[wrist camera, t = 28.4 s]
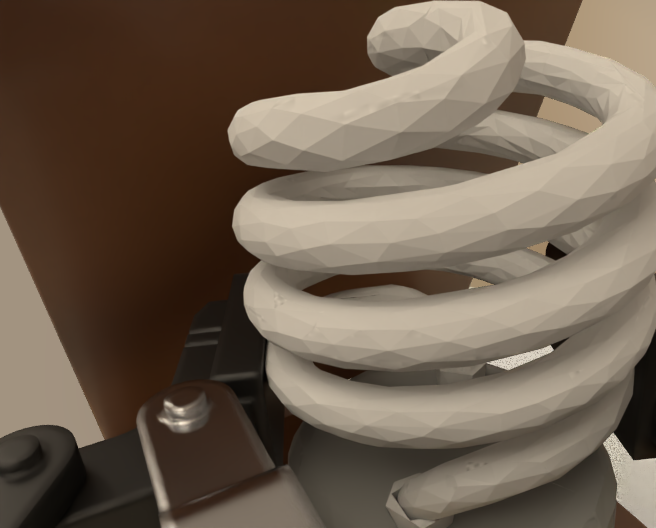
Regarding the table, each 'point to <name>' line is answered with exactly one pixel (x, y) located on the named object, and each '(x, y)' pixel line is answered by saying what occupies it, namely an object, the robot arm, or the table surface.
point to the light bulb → (460, 258)
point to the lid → (174, 161)
